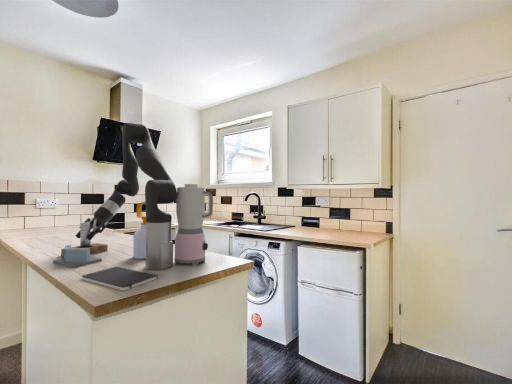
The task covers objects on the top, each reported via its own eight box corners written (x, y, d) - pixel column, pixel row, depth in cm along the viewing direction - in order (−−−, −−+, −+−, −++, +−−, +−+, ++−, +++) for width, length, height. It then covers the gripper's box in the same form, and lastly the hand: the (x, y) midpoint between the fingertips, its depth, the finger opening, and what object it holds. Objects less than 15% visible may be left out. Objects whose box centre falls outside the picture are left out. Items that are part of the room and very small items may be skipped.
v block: (102, 261, 109) (102, 246, 109) (74, 267, 99) (74, 251, 99) (81, 256, 116) (81, 242, 116) (52, 262, 106) (52, 247, 106)
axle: (92, 252, 123) (92, 222, 123) (83, 254, 119) (83, 223, 119) (87, 251, 125) (87, 222, 125) (78, 253, 121) (78, 222, 121)
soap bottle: (150, 259, 113) (151, 201, 113) (129, 259, 113) (130, 201, 113) (158, 254, 122) (159, 200, 122) (139, 254, 122) (139, 200, 122)
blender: (168, 265, 104) (169, 183, 104) (182, 257, 116) (183, 184, 116) (206, 268, 101) (207, 183, 101) (217, 260, 113) (218, 184, 113)
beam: (97, 249, 131) (97, 242, 131) (107, 250, 127) (107, 244, 127) (61, 255, 117) (61, 249, 117) (71, 258, 113) (71, 251, 113)
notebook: (157, 280, 89) (116, 270, 98) (157, 275, 89) (116, 266, 98) (123, 292, 77) (80, 280, 87) (123, 287, 77) (80, 275, 87)
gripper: (92, 205, 132) (67, 231, 122) (111, 206, 125) (86, 234, 115) (102, 215, 137) (79, 241, 126) (121, 217, 130) (97, 244, 120)
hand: (82, 238), depth 121 cm, fingers open, 8 cm apart
